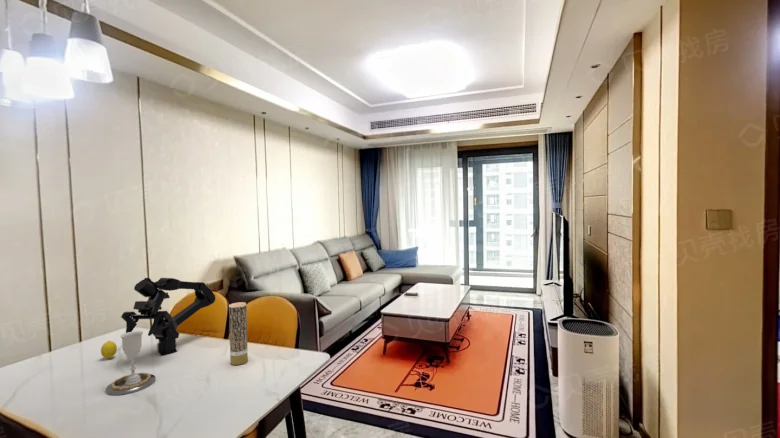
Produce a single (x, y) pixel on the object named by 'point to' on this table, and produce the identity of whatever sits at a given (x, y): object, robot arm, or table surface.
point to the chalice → (132, 352)
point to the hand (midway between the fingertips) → (137, 335)
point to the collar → (121, 388)
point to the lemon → (108, 349)
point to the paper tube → (238, 333)
